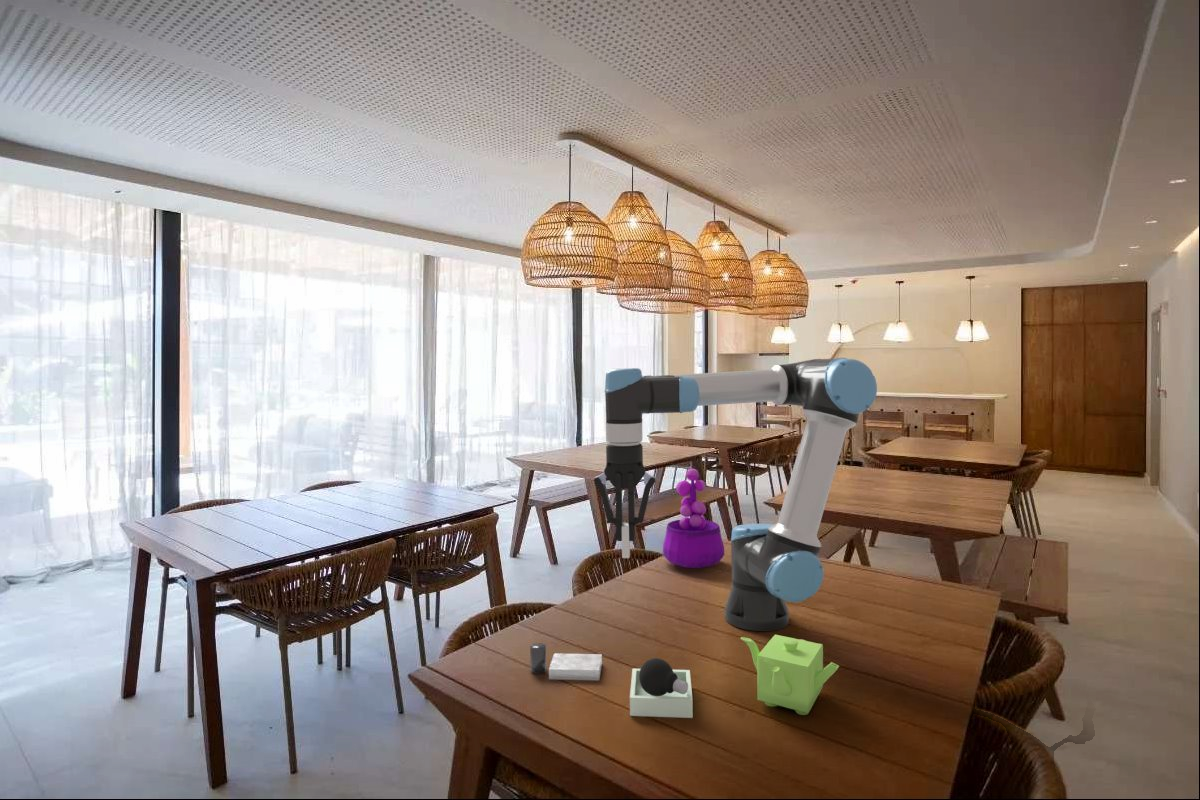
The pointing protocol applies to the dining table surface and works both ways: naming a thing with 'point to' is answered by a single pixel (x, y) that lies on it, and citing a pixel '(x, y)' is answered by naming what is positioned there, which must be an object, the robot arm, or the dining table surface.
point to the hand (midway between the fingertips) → (626, 556)
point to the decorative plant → (692, 530)
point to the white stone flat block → (575, 666)
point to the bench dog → (538, 658)
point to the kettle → (790, 672)
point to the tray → (661, 699)
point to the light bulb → (660, 678)
